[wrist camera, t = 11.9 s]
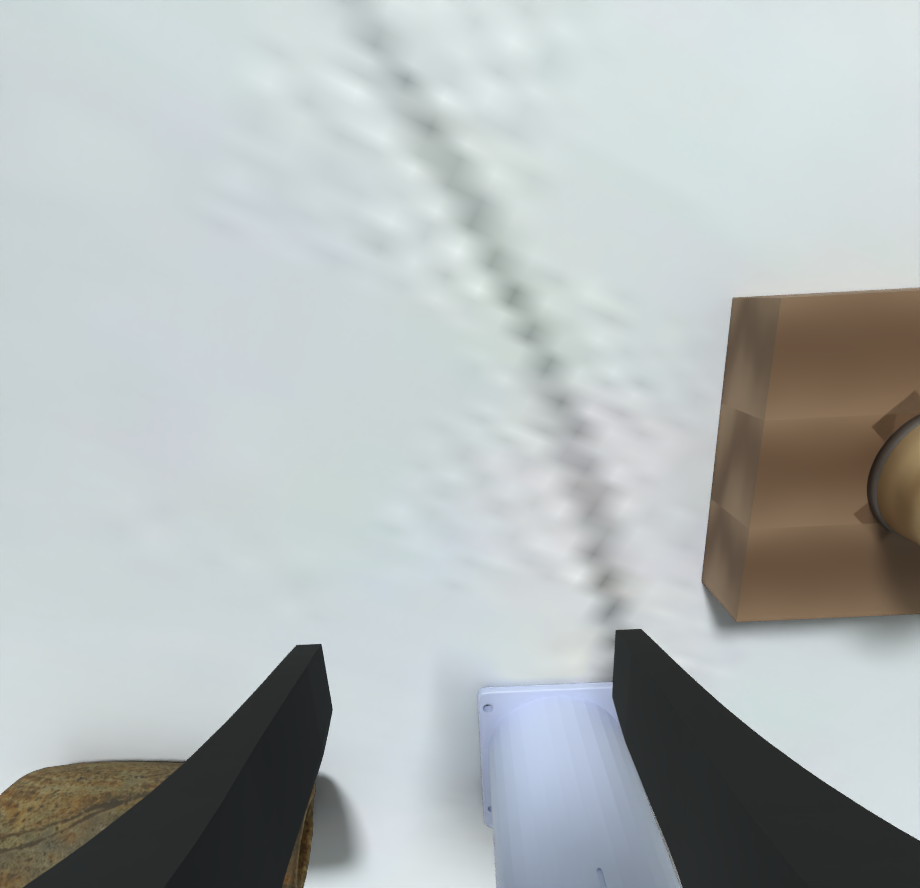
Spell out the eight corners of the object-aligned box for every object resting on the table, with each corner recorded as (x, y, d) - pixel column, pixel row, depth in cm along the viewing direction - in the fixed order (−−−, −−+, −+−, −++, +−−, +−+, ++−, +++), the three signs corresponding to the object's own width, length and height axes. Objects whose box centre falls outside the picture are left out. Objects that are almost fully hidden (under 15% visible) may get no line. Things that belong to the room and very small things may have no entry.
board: (998, 567, 23) (1076, 607, 20) (701, 581, 23) (736, 621, 20) (1090, 278, 19) (1203, 274, 16) (732, 297, 19) (781, 297, 16)
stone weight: (74, 825, 28) (-40, 982, 21) (43, 731, 26) (-95, 874, 19) (332, 823, 28) (294, 979, 21) (320, 729, 26) (275, 871, 19)
